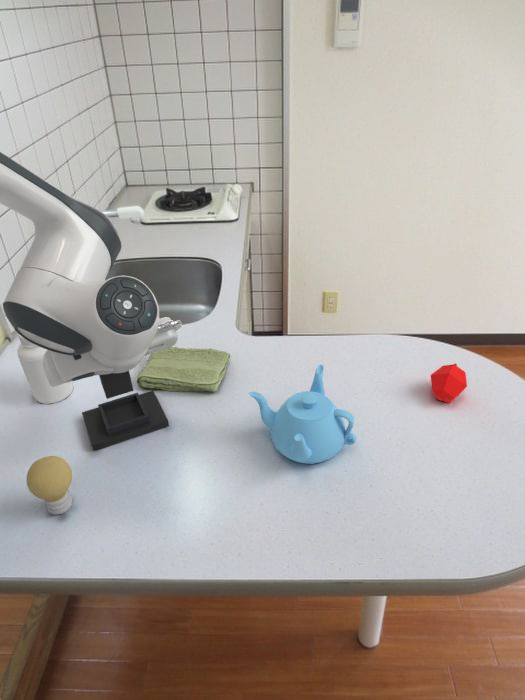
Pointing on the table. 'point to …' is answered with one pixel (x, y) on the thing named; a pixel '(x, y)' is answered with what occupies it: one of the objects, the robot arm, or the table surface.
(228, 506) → the table surface
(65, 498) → the light bulb
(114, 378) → the pad block
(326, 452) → the teapot
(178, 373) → the washcloth
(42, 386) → the pill bottle
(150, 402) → the base pad
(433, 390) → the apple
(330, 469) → the table surface
